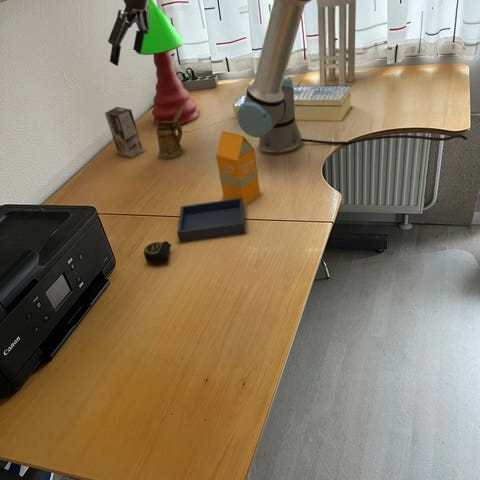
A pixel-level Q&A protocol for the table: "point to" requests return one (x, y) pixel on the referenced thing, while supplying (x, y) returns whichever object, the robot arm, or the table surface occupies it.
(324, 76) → the stool
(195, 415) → the table surface
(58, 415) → the table surface
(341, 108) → the pale yellow long box
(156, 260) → the tape measure
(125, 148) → the coffee box
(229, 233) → the tray
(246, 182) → the orange juice
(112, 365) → the table surface
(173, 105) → the table lamp
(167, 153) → the wooden mug
